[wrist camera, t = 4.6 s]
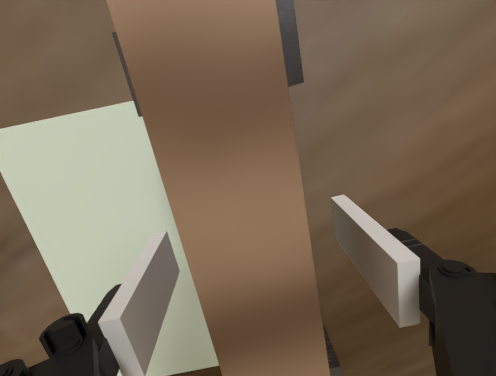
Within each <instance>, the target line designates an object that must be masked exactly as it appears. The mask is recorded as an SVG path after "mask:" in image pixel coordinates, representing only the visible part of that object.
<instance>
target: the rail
mask: <svg viewBox="0 0 496 376" xmlns="http://www.w3.org/2000/svg"><path fill="white" fill-rule="evenodd" d="M106 1H107V4H108V7H109V10H110V14H111V17H112V20H113V23H114V27H115V30H116V33H117V36H118V39H119V43H120V46H121V49H122V52H123V56H124V59H125V62H126V65H127V69H128V72H129V75H130V78H131V82H132V85H133V88H134V91H135V94H136V98H137V101H138V104H139V107H140V111H141V114H142V117H143V120H144V124H145V127H146V130H147V133H148V137H149V140H150V143H151V146H152V149H153V153H154V156H155V159H156V162H157V166H158V169H159V172H160V175H161V179H162V182H163V185H164V188H165V192H166V195H167V198H168V201H169V204H170V208H171V211H172V214H173V217H174V221H175V224H176V227H177V230H178V234H179V237H180V240H181V243H182V247H183V250H184V253H185V256H186V259H187V263H188V266H189V269H190V272H191V276H192V279H193V282H194V285H195V289H196V292H197V295H198V298H199V301H200V305H201V308H202V311H203V314H204V318H205V321H206V324H207V327H208V331H209V334H210V337H211V340H212V344H213V347H214V350H215V353H216V356H217V360H218V363H219V366H220V369H221V373H222V376H330V371H329V364H328V358H327V351H326V344H325V337H324V330H323V323H322V316H321V310H320V303H319V296H318V289H317V282H316V275H315V268H314V261H313V255H312V248H311V241H310V234H309V227H308V220H307V213H306V207H305V200H304V193H303V186H302V179H301V172H300V165H299V158H298V152H297V145H296V138H295V131H294V124H293V117H292V110H291V104H290V97H289V90H288V83H287V76H286V69H285V62H284V55H283V49H282V42H281V35H280V28H279V21H278V14H277V7H276V1H275V0H106Z"/></svg>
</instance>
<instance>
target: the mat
mask: <svg viewBox="0 0 496 376" xmlns="http://www.w3.org/2000/svg"><path fill="white" fill-rule="evenodd" d="M0 172H1V174H2V176H3V178H4V180H5V182H6V184H7V186H8V188H9V190H10V192H11V194H12V196H13V198H14V200H15V202H16V204H17V206H18V208H19V210H20V213H21V215H22V217H23V219H24V221H25V223H26V225H27V227H28V229H29V231H30V233H31V235H32V237H33V239H34V241H35V243H36V245H37V247H38V249H39V251H40V253H41V255H42V257H43V259H44V261H45V263H46V265H47V267H48V269H49V271H50V273H51V275H52V277H53V279H54V281H55V283H56V285H57V287H58V290H59V292H60V294H61V296H62V298H63V300H64V302H65V304H66V306H67V308H68V310H69V312H70V314H72V313H81V314H83V316H84V318H85V320H86V322H88V320H89V319H90V317H91V316H92V314H93V313H94V311H95V310H96V308H97V307H98V305H99V304H100V303H101V301H102V299H103V298H104V297H105V295H106V294H107V293H108V292H109V291H110V290H111V289H112V288H113V287H114V286H115V285H118V284H122V283H123V282H124V280H125V278H126V277H127V275H128V274H129V272H130V270H131V269H132V267H133V266H134V264H135V263H136V261H137V259H138V258H139V256H140V255H141V253H142V251H143V250H144V248H145V247H146V245H147V243H148V242H149V240H150V239H151V237H152V235H153V234H154V233H158V232H163V231H167V233H168V236H169V239H170V242H171V245H172V248H173V251H174V255H175V258H176V261H177V264H178V267H179V270H180V272H179V276H178V279H177V282H176V285H175V288H174V291H173V294H172V297H171V300H170V303H169V306H168V309H167V312H166V315H165V318H164V321H163V324H162V327H161V330H160V333H159V336H158V339H157V342H156V345H155V348H154V351H153V354H152V357H151V360H150V363H149V366H148V369H147V372H146V375H145V376H168V375H173V374H178V373H183V372H188V371H193V370H199V369H204V368H209V367H214V366H219V363H218V360H217V356H216V353H215V350H214V347H213V344H212V340H211V337H210V334H209V331H208V327H207V324H206V321H205V318H204V314H203V311H202V308H201V305H200V301H199V298H198V295H197V292H196V289H195V285H194V282H193V279H192V276H191V272H190V269H189V266H188V263H187V259H186V256H185V253H184V250H183V247H182V243H181V240H180V237H179V234H178V230H177V227H176V224H175V221H174V217H173V214H172V211H171V208H170V204H169V201H168V198H167V195H166V192H165V188H164V185H163V182H162V179H161V175H160V172H159V169H158V166H157V162H156V159H155V156H154V153H153V149H152V146H151V143H150V140H149V137H148V133H147V130H146V127H145V124H144V120H143V117H138V114H137V111H136V107H135V104H134V101H130V102H125V103H121V104H116V105H111V106H106V107H102V108H97V109H92V110H88V111H83V112H78V113H73V114H69V115H64V116H59V117H54V118H50V119H45V120H40V121H36V122H31V123H26V124H21V125H17V126H12V127H7V128H3V129H0ZM117 376H122V374H121V372H120V369H119V372H118V374H117Z"/></svg>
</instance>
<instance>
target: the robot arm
mask: <svg viewBox="0 0 496 376" xmlns="http://www.w3.org/2000/svg"><path fill="white" fill-rule="evenodd" d="M331 204H332V213H333V222H334V230H335V239H336V241H337V243H338V244H339V245H340V247H341V248H342V249H343V251H344V252H345V254H346V255H347V256H348V258H349V259H350V260H351V262H352V263H353V264H354V266H355V267H356V269H357V270H358V271H359V273H360V274H361V275H362V277H363V278H364V280H365V281H366V282H367V284H368V285H369V286H370V288H371V289H372V290H373V292H374V293H375V295H376V296H377V297H378V299H379V300H380V301H381V303H382V304H383V305H384V307H385V308H386V310H387V311H388V312H389V314H390V315H391V316H392V318H393V319H394V320H395V322H396V323H397V325H398V326H399V327H406V326H411V325H416V324H421V311H422V312H423V313H424V315H425V316H426V317H427V318H428V319H429V346H432V350H433V356H434V362H435V368H436V374H437V376H496V273H477V272H476V270H475V269H474V268H472V267H471V266H469V265H467V264H465V263H462V262H459V261H453V260H443V259H442V258H441V257H439V256H438V255H437V254H435V253H434V252H433V251H431V250H430V249H429V248H427V247H426V246H425V245H422V243H421V242H419V241H418V240H417V239H416V240H415V238H414V237H413V236H411V235H410V234H409V233H407V232H405V231H402V230H400V229H397V228H394V229H389V230H385V229H384V228H383V227H382V226H381V225H380V224H378V223H377V222H376V221H375V220H374V219H372V218H371V217H370V216H369V215H368V214H366V213H365V212H364V211H363V210H362V209H360V208H359V207H358V206H357V205H356V204H355V203H353V202H352V201H351V200H350V199H349V198H347V197H346V196H345V195H340V196H335V197H331ZM179 272H180V270H179V267H178V264H177V261H176V258H175V255H174V251H173V248H172V245H171V242H170V239H169V236H168V233H167V231H163V232H158V233H154V234H153V235H152V237H151V239H150V240H149V242H148V243H147V245H146V247H145V248H144V250H143V251H142V253H141V255H140V256H139V258H138V259H137V261H136V263H135V264H134V266H133V267H132V269H131V270H130V272H129V274H128V275H127V277H126V278H125V280H124V282H123V283H122V284H118V285H115V286H114V287H113V288H112V289H111V290H110V291H109V292H108V293H107V294H106V295H105V297H104V298H103V299H102V301H101V303H100V304H99V305H98V307H97V308H96V310H95V311H94V313H93V314H92V316H91V317H90V319H89V320H88V322H86V320H85V318H84V316H83V314H81V313H72V314H69V315H66V316H64V317H62V318H60V319H58V320H56V321H55V322H53V323H52V324H51V325H49V326H48V327H47V328H46V329H45V330H44V331H43V332H42V334H41V336H40V338H39V340H40V342H41V344H42V345H43V347H44V349H45V351H46V352H47V354H48V356H49V359H48V360H45V361H43V362H41V363H38V364H36V365H34V366H31V367H29V368H27V366H26V364H25V363H24V361H23V360H21V359H15V360H11V361H9V362H6V363H4V364H2V365H0V376H117V374H118V372H119V369H120V372H121V374H122V376H145V375H146V372H147V369H148V366H149V363H150V360H151V357H152V354H153V351H154V348H155V345H156V342H157V339H158V336H159V333H160V330H161V327H162V324H163V321H164V318H165V315H166V312H167V309H168V306H169V303H170V300H171V297H172V294H173V291H174V288H175V285H176V282H177V279H178V276H179Z"/></svg>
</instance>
